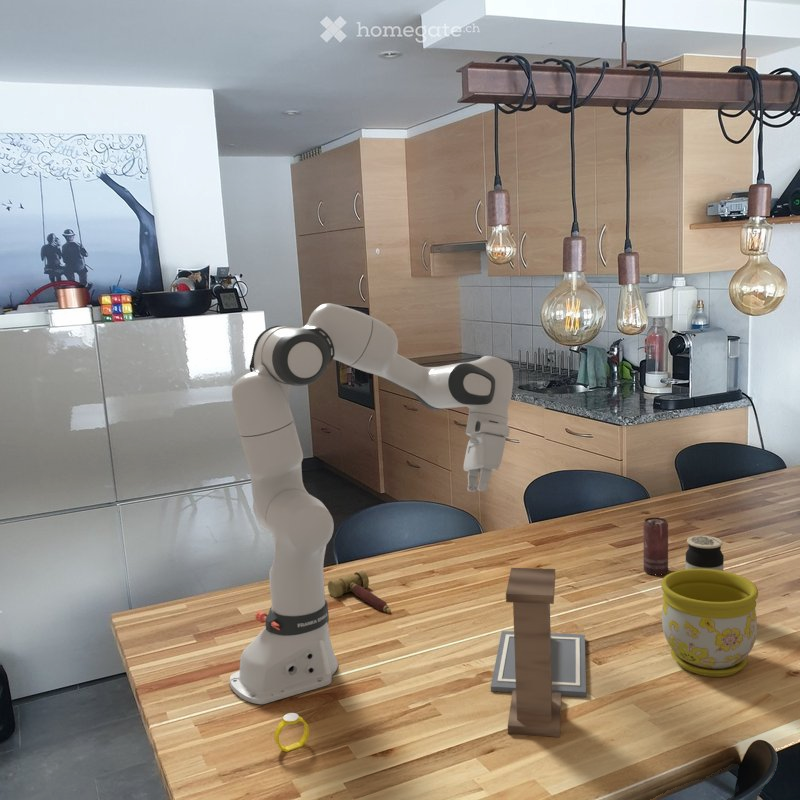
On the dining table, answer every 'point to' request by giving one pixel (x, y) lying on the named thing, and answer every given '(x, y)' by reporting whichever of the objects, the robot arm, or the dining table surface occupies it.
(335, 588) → the gavel
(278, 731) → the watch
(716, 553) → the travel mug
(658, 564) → the can
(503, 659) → the mat
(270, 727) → the dining table surface
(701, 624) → the flowerpot
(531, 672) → the stand
